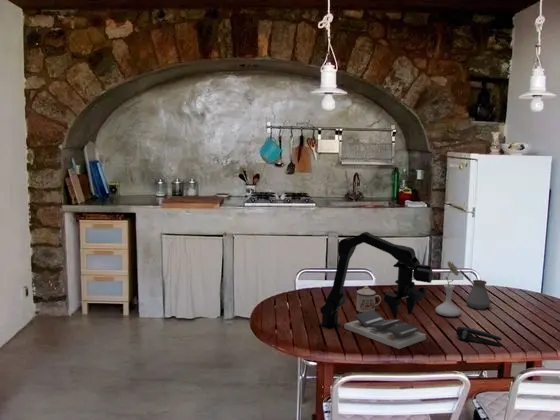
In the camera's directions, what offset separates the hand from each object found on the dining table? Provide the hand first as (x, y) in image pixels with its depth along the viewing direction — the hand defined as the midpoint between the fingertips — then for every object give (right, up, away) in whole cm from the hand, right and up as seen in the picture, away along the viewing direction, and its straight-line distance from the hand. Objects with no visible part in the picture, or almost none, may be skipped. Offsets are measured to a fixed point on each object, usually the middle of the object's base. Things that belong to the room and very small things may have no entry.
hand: (402, 316), depth 219 cm
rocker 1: (-11, -4, +14) cm, 18 cm away
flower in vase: (+29, -6, +35) cm, 46 cm away
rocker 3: (0, -6, +1) cm, 6 cm away
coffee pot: (+46, -4, +52) cm, 70 cm away
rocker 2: (-5, -5, +7) cm, 10 cm away
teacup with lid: (-8, -5, +38) cm, 39 cm away
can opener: (+31, -11, +1) cm, 33 cm away
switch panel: (-5, -9, +8) cm, 13 cm away
